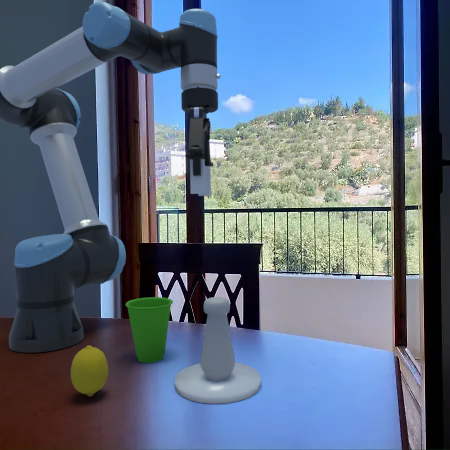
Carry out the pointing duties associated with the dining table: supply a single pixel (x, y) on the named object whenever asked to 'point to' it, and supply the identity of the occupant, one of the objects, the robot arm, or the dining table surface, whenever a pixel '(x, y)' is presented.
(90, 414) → the dining table surface
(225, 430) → the dining table surface
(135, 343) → the cup
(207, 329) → the salt shaker
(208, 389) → the ceramic plate
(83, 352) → the lemon
